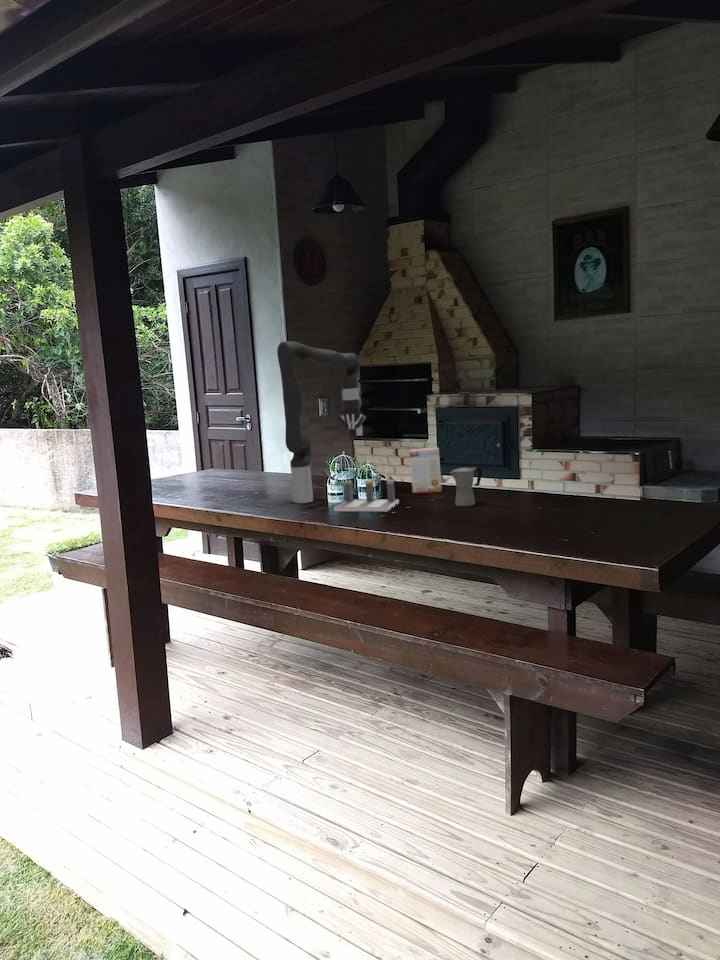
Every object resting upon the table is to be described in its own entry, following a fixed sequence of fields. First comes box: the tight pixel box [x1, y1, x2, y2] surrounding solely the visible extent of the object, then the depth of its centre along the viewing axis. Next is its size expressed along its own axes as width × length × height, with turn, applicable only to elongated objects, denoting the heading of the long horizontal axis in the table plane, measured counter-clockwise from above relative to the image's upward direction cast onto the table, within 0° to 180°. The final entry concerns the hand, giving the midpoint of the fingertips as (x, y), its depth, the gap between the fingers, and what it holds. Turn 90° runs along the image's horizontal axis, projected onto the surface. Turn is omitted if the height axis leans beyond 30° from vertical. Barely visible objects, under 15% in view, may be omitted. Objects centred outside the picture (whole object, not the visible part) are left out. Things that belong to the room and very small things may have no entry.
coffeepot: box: [449, 462, 484, 507], centre depth 323 cm, size 15×9×18 cm, turn 107°
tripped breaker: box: [364, 479, 375, 501], centre depth 337 cm, size 2×3×9 cm
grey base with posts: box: [333, 479, 400, 512], centre depth 332 cm, size 25×17×11 cm
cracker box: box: [409, 447, 443, 494], centre depth 356 cm, size 14×6×21 cm, turn 84°
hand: (353, 437), depth 335 cm, fingers closed
